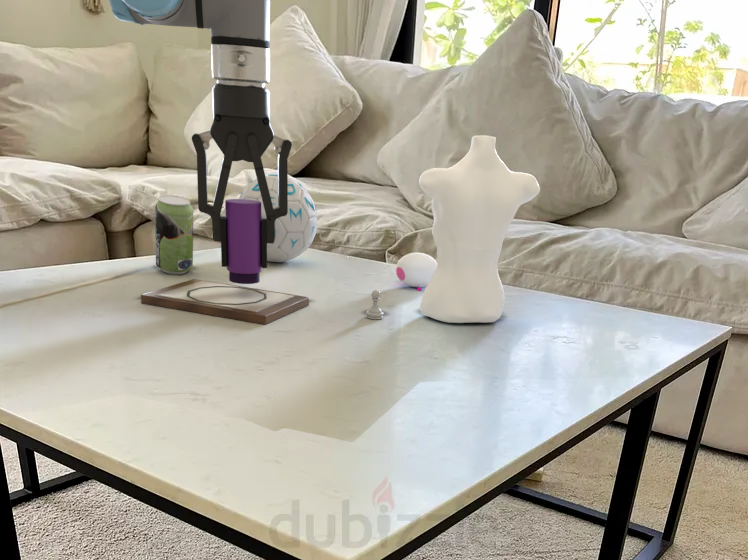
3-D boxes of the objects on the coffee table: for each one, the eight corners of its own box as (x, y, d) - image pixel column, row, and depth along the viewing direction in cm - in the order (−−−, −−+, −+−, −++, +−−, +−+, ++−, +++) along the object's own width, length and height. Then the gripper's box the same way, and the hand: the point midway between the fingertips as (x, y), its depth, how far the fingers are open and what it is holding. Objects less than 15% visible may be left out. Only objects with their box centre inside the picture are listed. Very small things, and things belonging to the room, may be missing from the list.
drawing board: (140, 303, 112) (140, 293, 111) (194, 286, 124) (194, 277, 123) (265, 324, 106) (265, 314, 106) (309, 305, 118) (309, 295, 118)
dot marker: (220, 281, 114) (218, 200, 108) (238, 275, 118) (236, 197, 113) (251, 286, 112) (250, 204, 107) (267, 280, 116) (267, 201, 111)
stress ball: (429, 303, 139) (428, 267, 140) (445, 285, 132) (443, 248, 132) (389, 301, 137) (387, 264, 138) (402, 283, 130) (400, 244, 130)
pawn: (372, 320, 113) (374, 292, 111) (362, 316, 114) (363, 288, 113) (386, 318, 114) (388, 291, 112) (376, 314, 116) (378, 287, 114)
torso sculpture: (500, 309, 125) (525, 136, 113) (529, 325, 117) (558, 141, 105) (394, 309, 119) (408, 128, 108) (416, 326, 111) (434, 132, 100)
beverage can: (181, 267, 136) (178, 193, 130) (203, 275, 131) (201, 199, 126) (148, 269, 132) (143, 193, 126) (170, 278, 127) (166, 200, 122)
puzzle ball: (332, 263, 149) (335, 178, 142) (276, 272, 138) (276, 180, 131) (275, 250, 157) (276, 169, 150) (218, 257, 146) (215, 170, 139)
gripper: (168, 78, 98) (179, 268, 109) (312, 89, 101) (308, 273, 112) (172, 79, 105) (182, 258, 116) (307, 89, 108) (304, 262, 119)
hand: (244, 265), depth 114 cm, fingers closed on dot marker, 5 cm apart
